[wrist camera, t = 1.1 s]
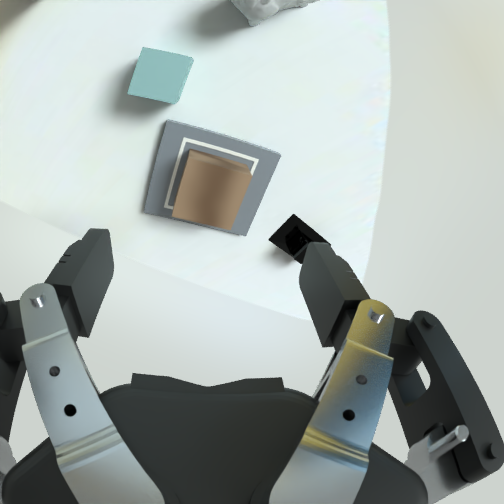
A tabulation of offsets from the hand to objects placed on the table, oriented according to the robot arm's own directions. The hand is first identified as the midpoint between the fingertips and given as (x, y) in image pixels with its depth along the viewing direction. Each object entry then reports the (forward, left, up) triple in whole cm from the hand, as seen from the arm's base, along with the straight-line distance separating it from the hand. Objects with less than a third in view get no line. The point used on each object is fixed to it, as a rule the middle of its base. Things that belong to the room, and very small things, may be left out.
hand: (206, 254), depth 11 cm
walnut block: (+3, -6, -23) cm, 24 cm away
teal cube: (-6, +5, -24) cm, 25 cm away
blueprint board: (+3, -6, -24) cm, 25 cm away
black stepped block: (+18, -11, -25) cm, 33 cm away
